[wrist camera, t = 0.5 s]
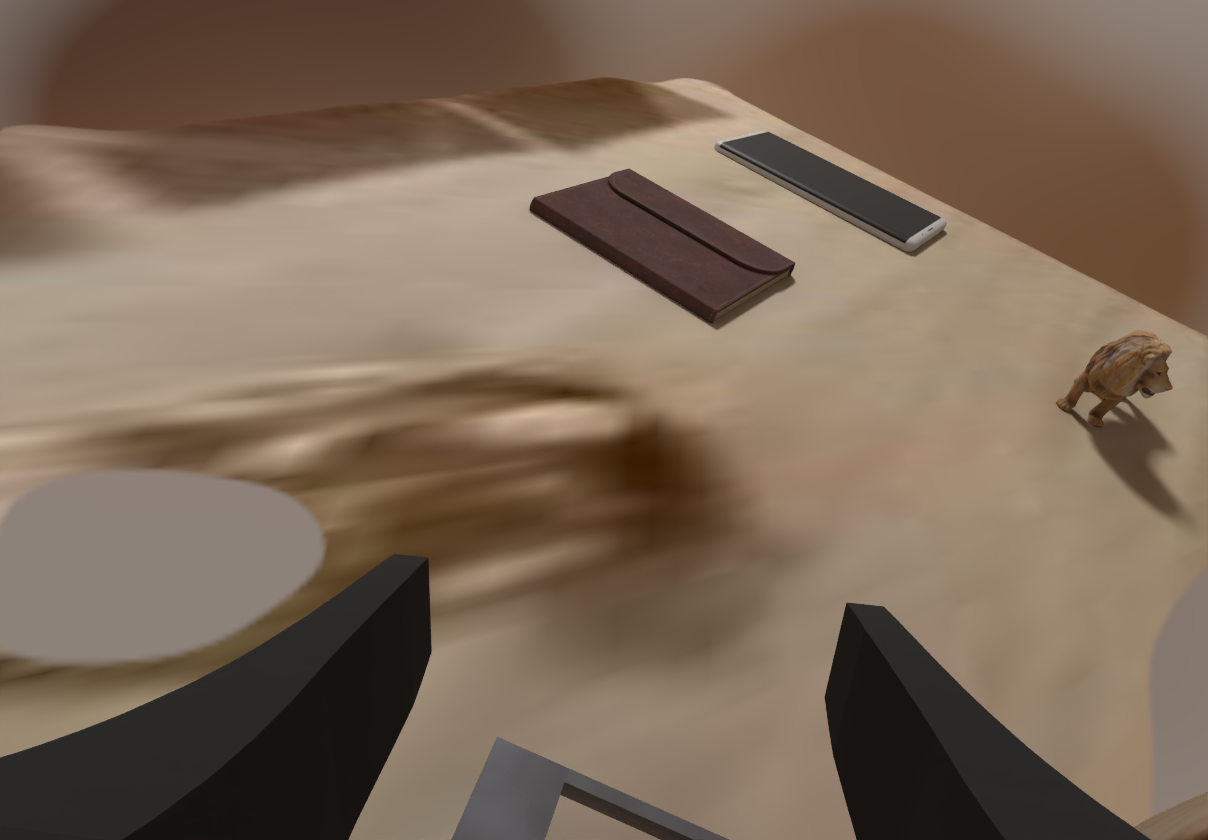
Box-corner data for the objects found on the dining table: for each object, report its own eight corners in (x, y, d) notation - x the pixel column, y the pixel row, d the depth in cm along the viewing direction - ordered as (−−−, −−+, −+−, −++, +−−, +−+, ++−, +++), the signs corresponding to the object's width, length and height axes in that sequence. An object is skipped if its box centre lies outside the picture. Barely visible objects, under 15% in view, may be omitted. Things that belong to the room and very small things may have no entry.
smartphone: (759, 140, 99) (764, 128, 98) (942, 233, 89) (950, 220, 88) (709, 153, 90) (714, 139, 89) (907, 257, 80) (915, 243, 79)
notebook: (708, 329, 58) (717, 308, 57) (528, 214, 65) (532, 193, 63) (788, 279, 68) (797, 260, 67) (625, 185, 75) (631, 166, 74)
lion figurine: (1109, 457, 58) (1196, 369, 52) (1045, 420, 60) (1121, 331, 54) (1127, 389, 68) (1202, 309, 63) (1072, 359, 70) (1139, 279, 64)
